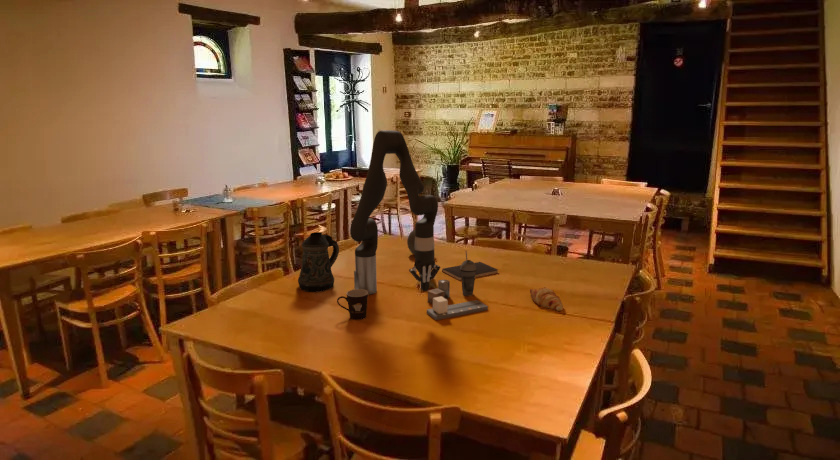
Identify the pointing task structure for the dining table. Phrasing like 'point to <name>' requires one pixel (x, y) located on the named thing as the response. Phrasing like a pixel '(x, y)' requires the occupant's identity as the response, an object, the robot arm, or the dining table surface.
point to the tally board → (459, 309)
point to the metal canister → (444, 287)
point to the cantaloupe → (411, 242)
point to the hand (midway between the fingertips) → (424, 290)
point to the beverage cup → (468, 276)
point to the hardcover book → (481, 270)
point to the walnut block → (434, 294)
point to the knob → (440, 305)
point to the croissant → (546, 298)
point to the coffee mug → (356, 303)
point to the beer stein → (317, 263)
